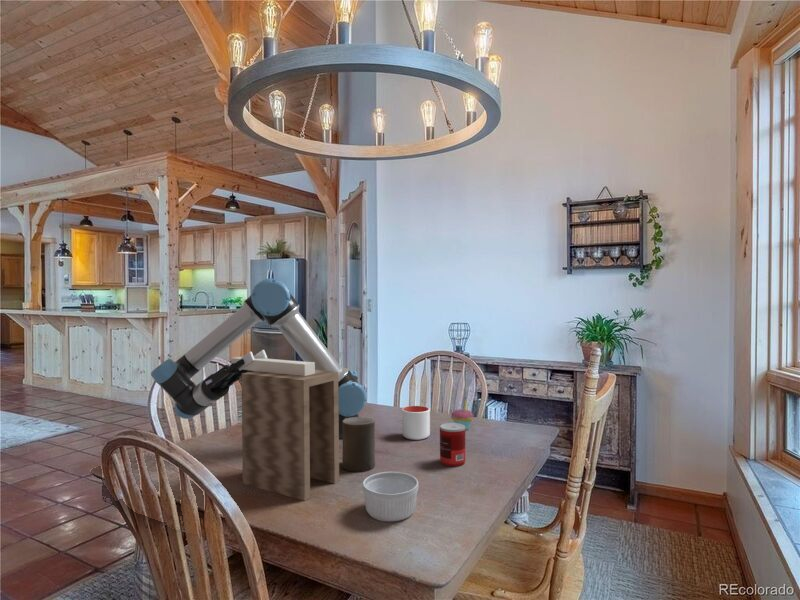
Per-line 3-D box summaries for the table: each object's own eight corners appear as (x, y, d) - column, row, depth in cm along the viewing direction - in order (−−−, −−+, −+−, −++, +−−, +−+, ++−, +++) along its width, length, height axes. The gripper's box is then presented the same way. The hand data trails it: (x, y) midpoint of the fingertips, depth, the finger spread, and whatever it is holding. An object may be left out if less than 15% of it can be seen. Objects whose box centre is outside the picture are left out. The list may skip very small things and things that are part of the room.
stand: (242, 483, 127) (241, 373, 126) (279, 467, 139) (278, 366, 138) (304, 500, 116) (303, 380, 115) (339, 481, 128) (338, 372, 128)
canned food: (467, 459, 144) (467, 423, 144) (462, 468, 137) (462, 430, 137) (443, 456, 147) (443, 421, 147) (437, 465, 139) (436, 428, 139)
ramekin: (422, 523, 104) (421, 492, 104) (362, 526, 103) (362, 495, 103) (415, 498, 117) (415, 470, 117) (362, 500, 116) (362, 472, 116)
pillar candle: (366, 474, 133) (367, 421, 133) (336, 469, 136) (336, 418, 136) (380, 462, 142) (380, 413, 142) (351, 459, 145) (351, 411, 145)
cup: (427, 441, 162) (427, 412, 162) (399, 440, 164) (399, 411, 164) (431, 433, 172) (431, 406, 172) (405, 431, 174) (404, 405, 174)
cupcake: (477, 427, 179) (476, 396, 179) (467, 432, 172) (467, 400, 172) (456, 424, 184) (456, 393, 184) (447, 429, 177) (446, 397, 177)
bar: (231, 368, 136) (231, 358, 136) (242, 366, 139) (241, 356, 139) (304, 375, 122) (304, 364, 122) (314, 373, 125) (314, 362, 125)
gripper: (238, 395, 149) (285, 362, 139) (191, 406, 135) (239, 371, 124) (230, 374, 151) (275, 340, 141) (182, 382, 136) (229, 346, 126)
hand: (258, 355), depth 133 cm, fingers closed on bar, 4 cm apart
